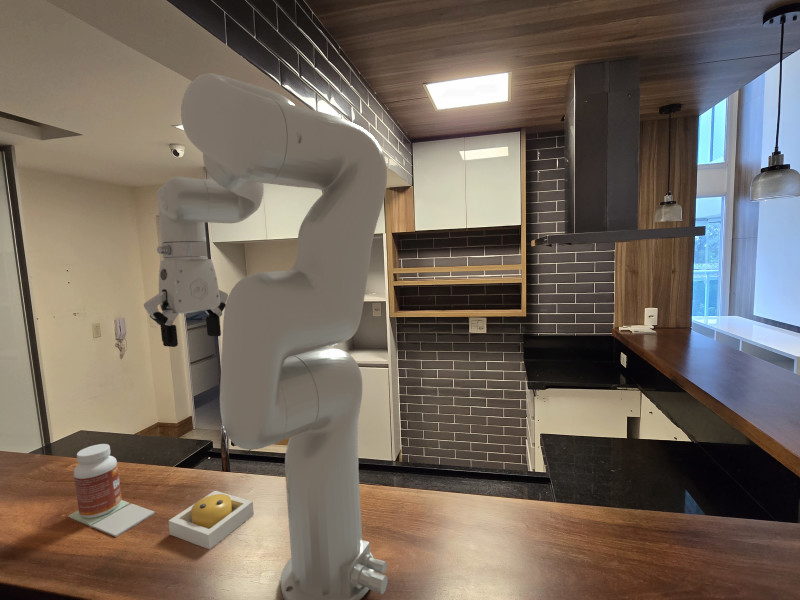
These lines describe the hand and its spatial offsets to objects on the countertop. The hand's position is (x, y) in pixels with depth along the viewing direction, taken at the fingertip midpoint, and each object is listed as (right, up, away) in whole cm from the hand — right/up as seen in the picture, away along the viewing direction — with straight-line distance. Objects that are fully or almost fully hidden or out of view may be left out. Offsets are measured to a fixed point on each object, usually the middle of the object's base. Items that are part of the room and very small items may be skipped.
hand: (193, 340), depth 79 cm
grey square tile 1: (-7, -30, -10) cm, 32 cm away
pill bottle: (-13, -30, -7) cm, 33 cm away
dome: (+9, -29, -12) cm, 32 cm away
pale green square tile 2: (-13, -30, -7) cm, 33 cm away
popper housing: (+9, -29, -12) cm, 33 cm away
